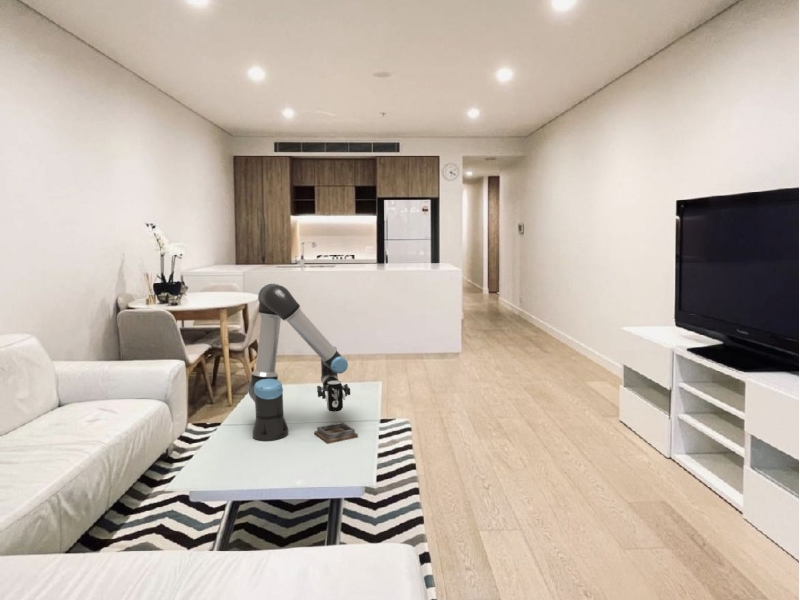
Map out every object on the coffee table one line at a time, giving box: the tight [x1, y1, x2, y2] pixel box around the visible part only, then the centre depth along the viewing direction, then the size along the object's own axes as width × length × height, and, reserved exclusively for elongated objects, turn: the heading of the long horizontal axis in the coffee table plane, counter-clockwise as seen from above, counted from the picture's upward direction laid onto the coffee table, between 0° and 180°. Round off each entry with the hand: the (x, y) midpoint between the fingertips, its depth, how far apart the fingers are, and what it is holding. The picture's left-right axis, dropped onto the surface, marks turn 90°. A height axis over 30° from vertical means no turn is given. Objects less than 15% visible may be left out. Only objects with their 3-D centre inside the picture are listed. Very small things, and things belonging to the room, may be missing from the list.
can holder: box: [313, 422, 359, 445], centre depth 243 cm, size 14×14×3 cm
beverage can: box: [326, 380, 344, 413], centre depth 242 cm, size 7×7×12 cm
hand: (335, 397), depth 237 cm, fingers closed on beverage can, 6 cm apart
